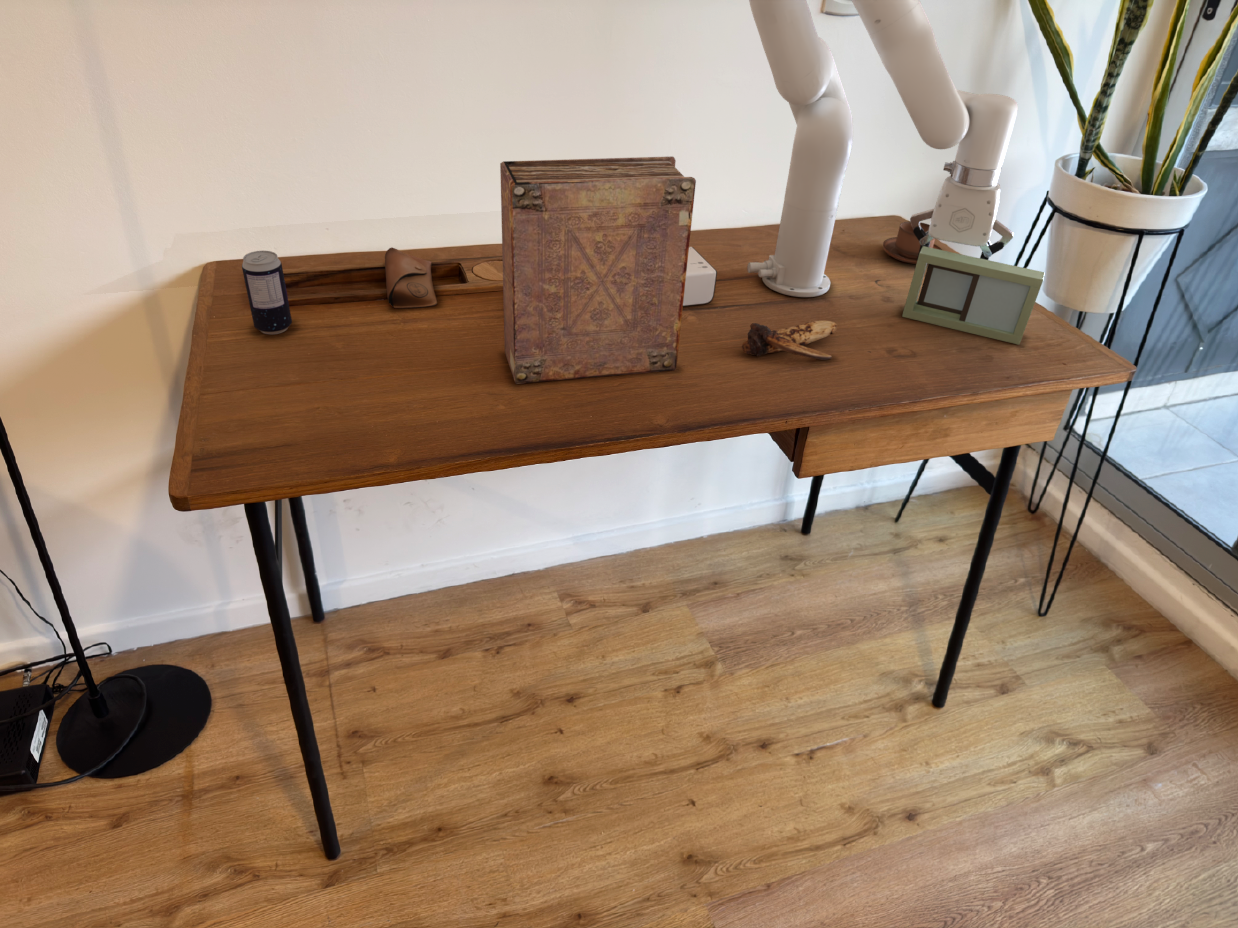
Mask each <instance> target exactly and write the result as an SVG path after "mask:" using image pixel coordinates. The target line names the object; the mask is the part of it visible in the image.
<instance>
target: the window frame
mask: <svg viewBox="0 0 1238 928" xmlns="http://www.w3.org/2000/svg"><path fill="white" fill-rule="evenodd" d="M927 263H928V264H932V265H937V266H941V267H946V268H951V269H955V270H960V271H964V272H969V273H973V274H974V275H973V278H972V281H971V284H970V287H969V291H968V294H967V297H966V300H965V303H964V306H963V309H962V312H961V315H960V314H956V313H951V312H947V311H943V310H939V309H934V308H930V307H926V306H922V305H917V303H918V299H919V295H920V292H921V288H922V285H923V281H924V278H925V274H926V271H927V267H928V264H927ZM1044 278H1045V271H1040V270H1036V269H1031V268H1027V267H1022V266H1017V265H1013V264H1008V263H1004V262H999V261H994V260H990V259H988V260H985V259H980V257H975V256H971V255H966V254H961V253H957V252H952V251H948V250H943V249H942V250H939V249H934V248H929V247H925V246H923V247H922V249H921V251H920V253H919V257H918V261H917V264H915V268H914V271H913V275H912V279H911V282H910V285H909V290H908V292H907V293H908V294H907V297H906V301H905V304H904V308H903V311H902V315H901V316H902V318H906V319H910V320H913V321H919V322H922V323H927V324H931V325H935V326H939V327H944V328H947V329H952V330H955V331H959V332H964V333H968V334H972V335H977V336H981V337H984V338H989V339H993V340H997V341H1001V342H1005V343H1009V344H1013V345H1018V346H1019V345H1021V341H1022V339H1023V336H1024V335H1025V330H1026V329H1027V325H1028V323H1029V320H1030V317H1031V315H1032V311H1033V309H1034V307H1035V304H1036V301H1037V300H1038V295H1039V293H1040V290H1041V288H1042V285H1043V283H1044V280H1045V279H1044Z"/></svg>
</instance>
